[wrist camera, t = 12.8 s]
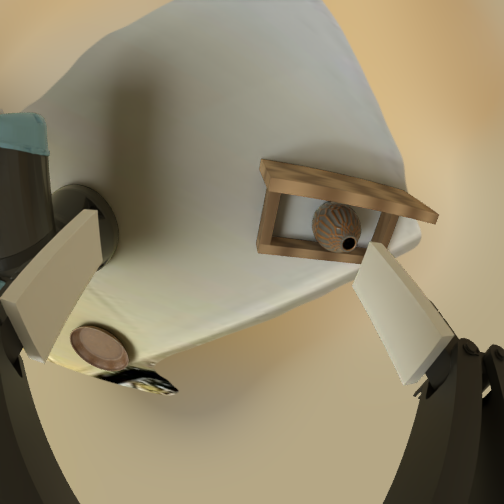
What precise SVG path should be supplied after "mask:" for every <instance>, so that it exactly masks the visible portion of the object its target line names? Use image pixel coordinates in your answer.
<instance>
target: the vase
mask: <svg viewBox="0 0 504 504" xmlns="http://www.w3.org/2000/svg"><path fill="white" fill-rule="evenodd" d="M312 230H313V233H314V236H315V238H316V240H317V241H318V243H319V244H320V245H321V246H322V247H324V248H325V249H327V250H329V251H331V252H336V253H341V252H350V251H352V250H354V249H355V248H356V246H357V242H358V240H359V238H360V234H361V225H360V221H359V218H358V216H357V214H356V213H355V212H354V211H353V210H352V209H351V208H350V207H349V206H347V205H346V204H342V203H337V202H328V203H325V204H323V205H322V206H320V207H319V208H318V209H317V210H316V212H315V214H314V216H313V220H312Z"/></svg>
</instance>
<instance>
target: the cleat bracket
mask: <svg viewBox="0 0 504 504" xmlns="http://www.w3.org/2000/svg"><path fill="white" fill-rule="evenodd" d="M259 170H260V172H261V175H262V177H263V179H264V182H265V184H266V187H267V189H266V194H265V200H264V205H263V210H262V215H261V221H260V226H259V231H258V236H257V241H256V245H257V251H258V253H261V254H271V255H280V256H290V257H299V258H308V259H318V260H327V261H337V262H346V263H355V264H361V263H362V260H363V258H364V255H365V253H366V250H367V248H360V247H356V248H355V249H354V250H352V251H350V252H341V253H336V252H331V251H329V250H327V249H325V248H324V247H322V246H321V245H320V244H319V243H318V242H314V241H306V240H298V239H290V238H282V237H274V236H272V233H273V229H274V224H275V220H276V215H277V210H278V205H279V201H280V196H281V193H284V194H291V195H297V196H303V197H309V198H315V199H321V200H326V201H332V202H337V203H342V204H348V205H353V206H358V207H363V208H367V209H372V210H377V211H381V215H380V218H379V221H378V224H377V227H376V229H375V232H374V235H373V238H372V240H371V242H377V243H382V244H383V245H384V246H385V247H386V249H387V247H388V244H389V242H390V239H391V236H392V234H393V231H394V229H395V226H396V223H397V220H398V218H399V216H403V217H408V218H412V219H416V220H420V221H424V222H428V223H432V224H436V222H437V219H438V216H439V214H437V213H436V212H435V211H433V210H432V209H430V208H429V207H427V206H426V205H424V204H423V203H422V202H420V201H419V200H417V199H416V198H414V197H413V196H411V195H410V194H408V193H407V192H405V191H404V190H400V189H397V188H394V187H390V186H386V185H383V184H379V183H375V182H371V181H367V180H363V179H359V178H355V177H351V176H347V175H343V174H338V173H334V172H329V171H324V170H320V169H315V168H310V167H305V166H299V165H294V164H288V163H283V162H277V161H271V160H264V159H261V163H260V168H259Z"/></svg>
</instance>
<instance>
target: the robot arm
mask: <svg viewBox="0 0 504 504" xmlns="http://www.w3.org/2000/svg"><path fill="white" fill-rule="evenodd" d="M49 155H50V152H49V151H48V144H47V128H46V122H45V120H44V118H43V117H42V116H41V115H39V114H37V113H8V114H0V504H80V503H79V501H78V500H77V498H76V496H75V495H74V493H73V491H72V490H71V488H70V486H69V484H68V482H67V481H66V479H65V477H64V475H63V473H62V471H61V469H60V467H59V465H58V463H57V461H56V459H55V457H54V454H53V452H52V450H51V448H50V445H49V443H48V441H47V438H46V436H45V433H44V431H43V428H42V425H41V423H40V420H39V417H38V414H37V411H36V408H35V405H34V402H33V398H32V395H31V392H30V388H29V384H28V381H27V377H26V373H25V368H24V364H23V360H22V358H21V356H20V352H21V350H22V348H24V350H25V351H26V353H27V355H28V357H29V358H31V359H33V360H36V361H39V362H42V363H45V362H46V360H47V358H48V356H49V354H50V352H51V350H52V348H53V346H54V344H55V342H56V340H57V338H58V336H59V334H60V332H61V330H62V328H63V326H64V324H65V323H66V321H67V319H68V317H69V315H70V314H71V312H72V310H73V308H74V307H75V305H76V303H77V301H78V300H79V298H80V296H81V295H82V293H83V291H84V290H85V288H86V286H87V285H88V283H89V282H90V280H91V278H92V277H93V275H94V274H95V272H96V271H98V270H100V269H101V268H103V267H104V266H105V265H106V264H107V263H108V261H109V260H110V258H111V257H112V255H113V254H114V252H115V250H116V247H117V244H118V226H117V222H116V219H115V216H114V214H113V212H112V210H111V208H110V206H109V205H108V204H107V202H106V201H105V200H104V199H103V198H102V197H101V196H100V195H99V194H98V193H96V192H95V191H94V190H92V189H90V188H88V187H85V186H82V185H67V186H64V187H62V188H60V189H58V190H57V191H55V192H54V193H53V194H51V187H50V176H49V160H48V156H49ZM352 287H353V288H354V290H355V292H356V294H357V295H358V297H359V299H360V301H361V303H362V305H363V306H364V308H365V310H366V312H367V314H368V316H369V317H370V319H371V321H372V323H373V325H374V327H375V329H376V331H377V333H378V334H379V336H380V338H381V340H382V342H383V344H384V346H385V348H386V350H387V352H388V354H389V356H390V358H391V360H392V362H393V365H394V367H395V369H396V371H397V373H398V375H399V377H400V379H401V381H402V384H403V385H408V384H413V383H417V382H418V380H419V379H420V378H421V377H422V376H423V375H424V374H426V376H427V377H428V379H427V380H426V381H425V382H424V383H423V385H422V386H421V387H420V388H419V389H418V390H417V391H416V392H415V394H414V395H413V396H415V397H416V396H417V394H418V393H420V392H422V393H421V395H420V396H419V398H418V399H420V401H419V405H418V409H417V413H416V417H415V420H414V424H413V427H412V431H411V434H410V437H409V440H408V443H407V446H406V449H405V452H404V455H403V457H402V460H401V463H400V465H399V468H398V471H397V473H396V476H395V478H394V480H393V483H392V485H391V487H390V490H389V492H388V494H387V496H386V498H385V500H384V502H383V504H504V349H503V348H501V347H500V346H498V345H491V346H490V347H489V349H488V350H487V351H486V352H485V353H483V352H480V351H479V349H478V347H477V346H476V345H475V344H474V343H473V342H472V341H470V340H469V339H465V338H461V339H458V337H457V336H456V335H455V333H454V331H453V330H452V329H451V327H450V326H449V324H448V323H447V322H446V320H445V319H444V318H443V316H442V315H441V313H440V312H438V309H437V308H436V307H435V305H434V304H433V303H432V302H431V301H430V300H429V299H428V298H427V297H426V296H425V294H424V293H423V292H422V290H421V289H420V288H419V287H418V285H417V284H416V283H415V282H414V280H413V279H412V278H411V277H410V275H409V274H408V273H407V272H406V271H405V269H404V268H403V267H402V266H401V265H400V264H399V262H398V261H397V260H396V259H395V258H394V257H393V255H392V254H391V253H390V252H389V251H388V250H387V249H386V247H385V246H384V245H383V244H382V243H377V242H369V245H368V248H367V250H366V253H365V255H364V258H363V260H362V263H361V266H360V268H359V270H358V273H357V275H356V278H355V280H354V283H353V285H352ZM489 385H490V386H491V391H490V392H489V393H488V394H487V395H486V396H485V397H484V398H482V393H483V391H484V390H485V389H486V388H487V387H488V386H489Z"/></svg>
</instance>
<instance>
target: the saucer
mask: <svg viewBox="0 0 504 504" xmlns="http://www.w3.org/2000/svg"><path fill="white" fill-rule="evenodd" d="M70 342H71V345H72V347H73V349H74V350H75V352H76V353H77V354H78V355H79V356H80V357H81V358H82V359H83V360H85V361H86V362H87V363H89V364H91V365H93V366H95V367H97V368H100V369H103V370H107V371H119V370H122V369H124V368H125V367H126V366H127V365H128V362H129V358H128V355H127V352H126V350H125V348H124V346H123V345H122V344H121V342H120V341H119V340H118V339H117V338H116V337H115V336H114V335H112V334H111V333H110V332H108V331H106V330H104V329H102V328H99V327H94V326H82V327H78V328H76V329H74V330H73V331H72V332H71V334H70Z"/></svg>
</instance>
